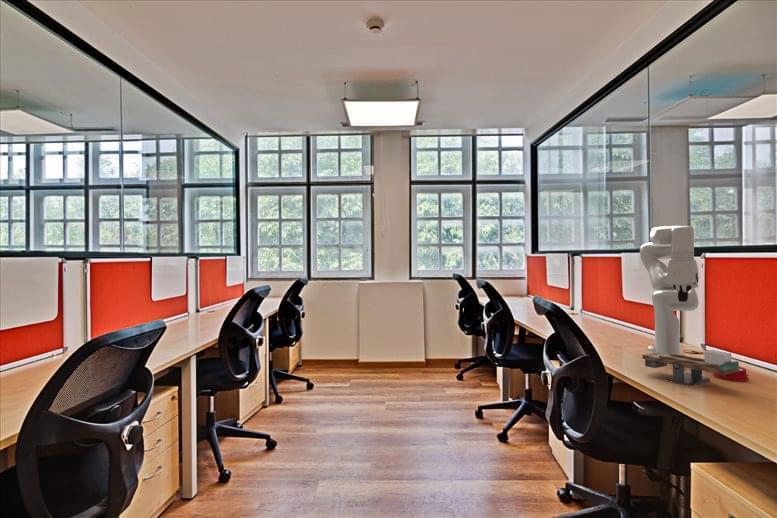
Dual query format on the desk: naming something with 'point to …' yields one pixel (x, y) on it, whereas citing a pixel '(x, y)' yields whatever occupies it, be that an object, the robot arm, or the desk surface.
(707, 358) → the rider
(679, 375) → the stand
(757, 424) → the desk surface
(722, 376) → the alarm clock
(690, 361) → the beam
